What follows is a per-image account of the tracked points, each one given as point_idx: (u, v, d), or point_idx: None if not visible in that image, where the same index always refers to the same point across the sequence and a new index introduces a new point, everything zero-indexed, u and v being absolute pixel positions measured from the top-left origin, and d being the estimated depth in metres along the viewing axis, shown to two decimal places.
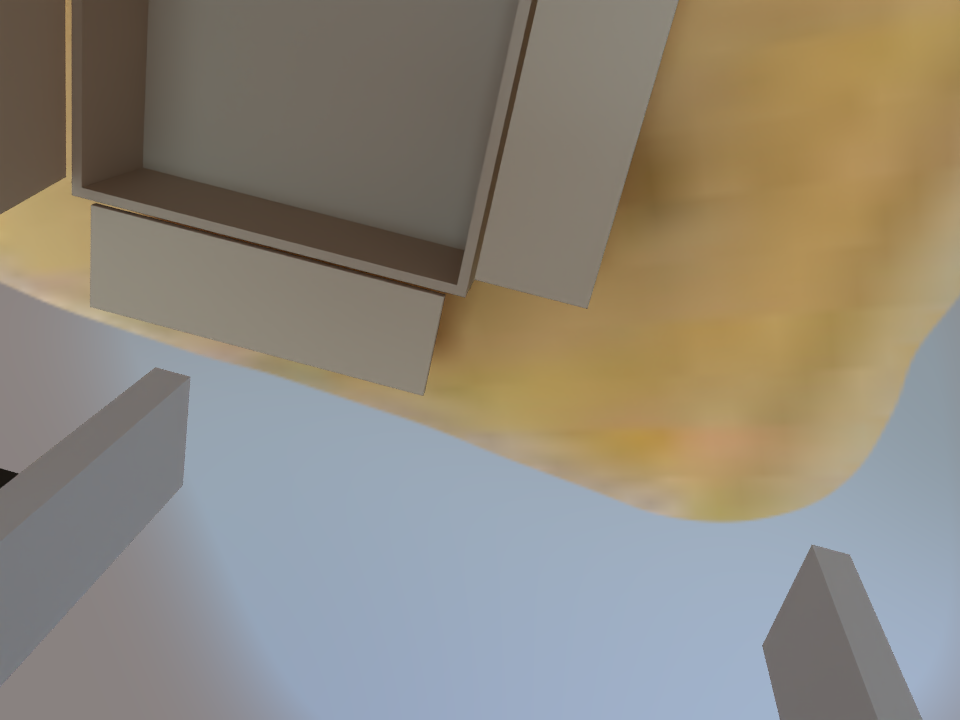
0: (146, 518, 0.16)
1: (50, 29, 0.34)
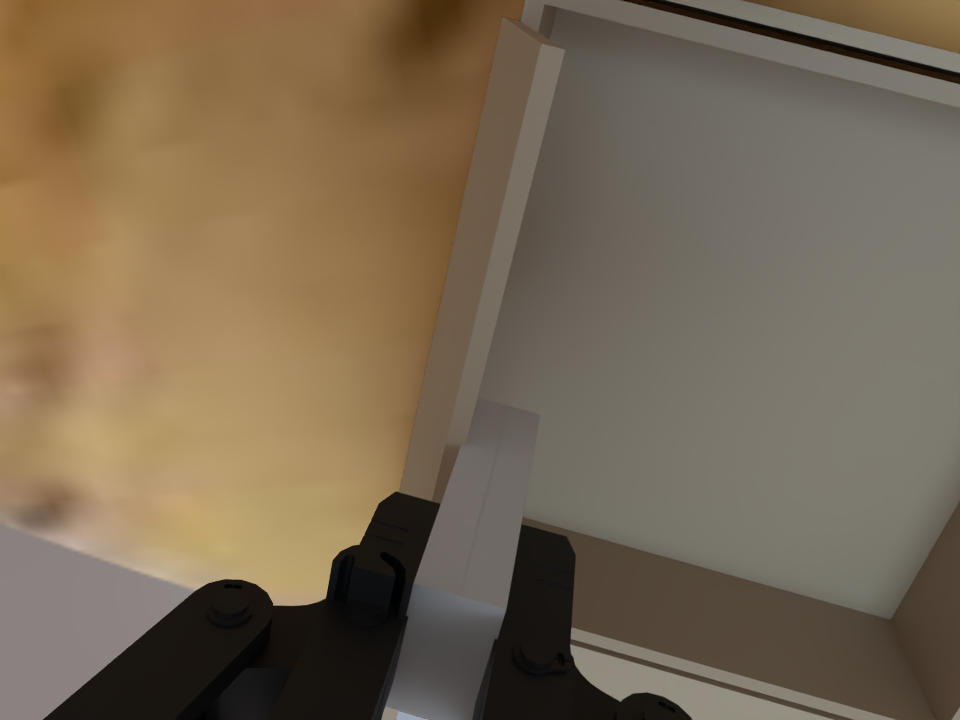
0: None
1: None
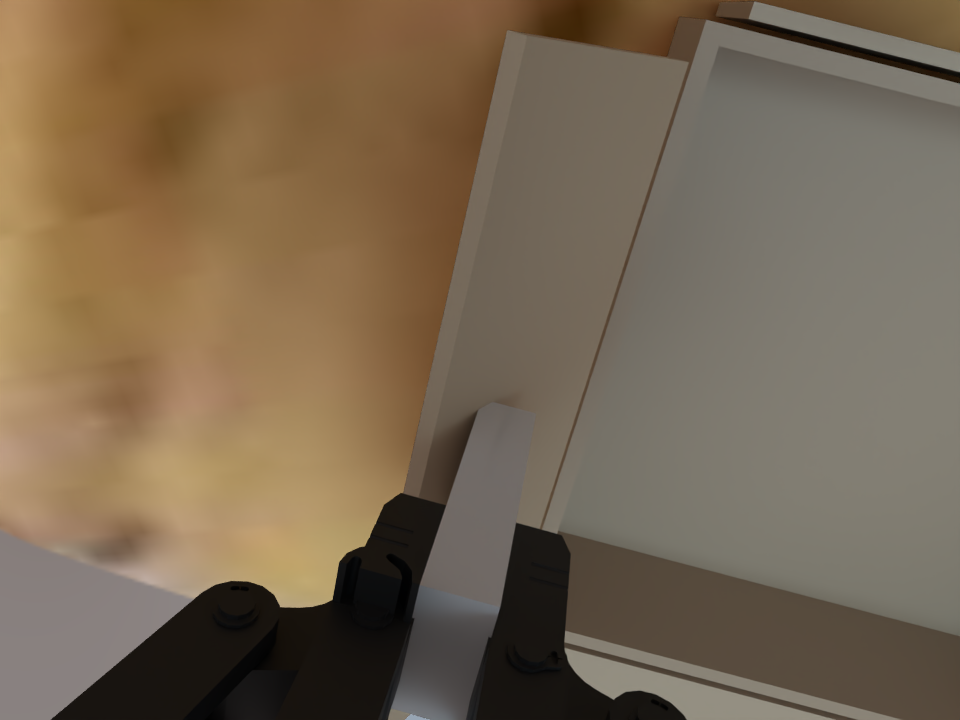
0: None
1: (540, 465, 0.23)
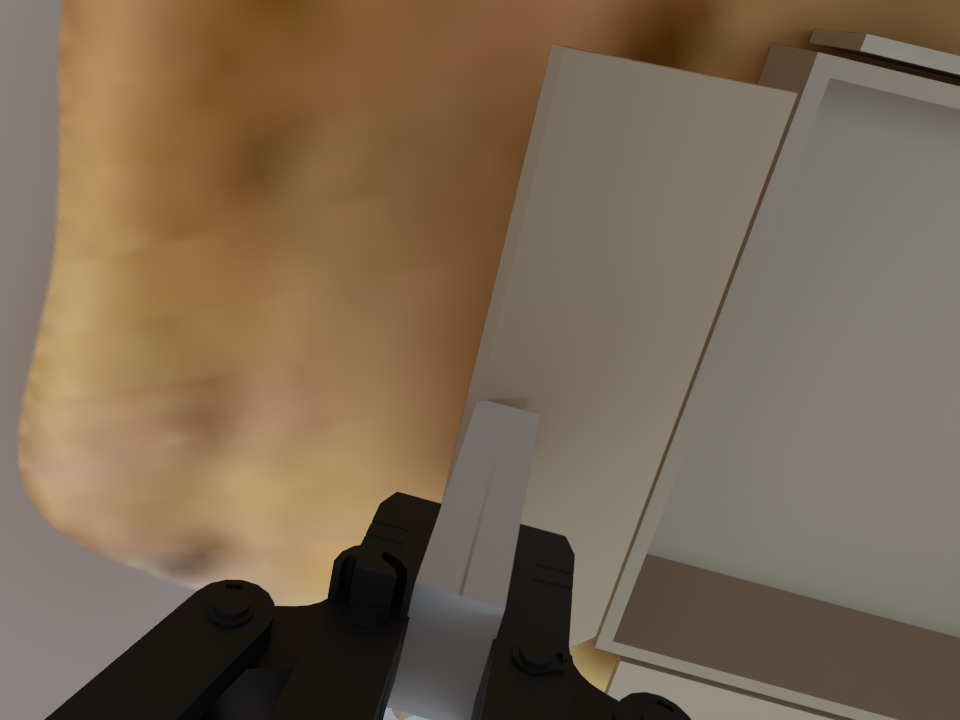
0: None
1: (622, 480, 0.23)
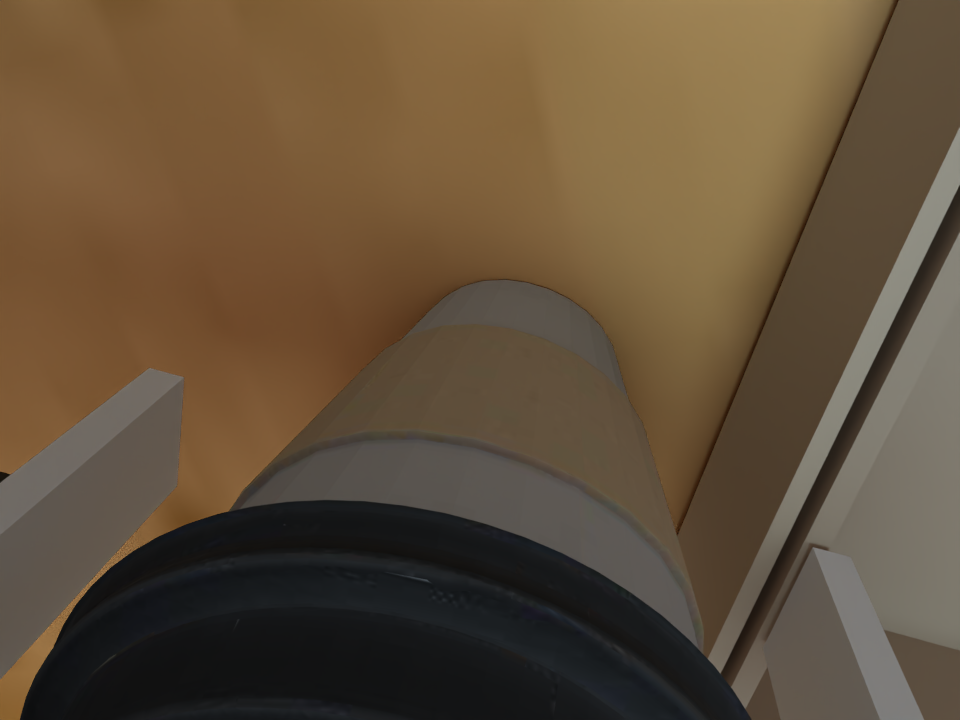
0: (140, 519, 0.16)
1: None
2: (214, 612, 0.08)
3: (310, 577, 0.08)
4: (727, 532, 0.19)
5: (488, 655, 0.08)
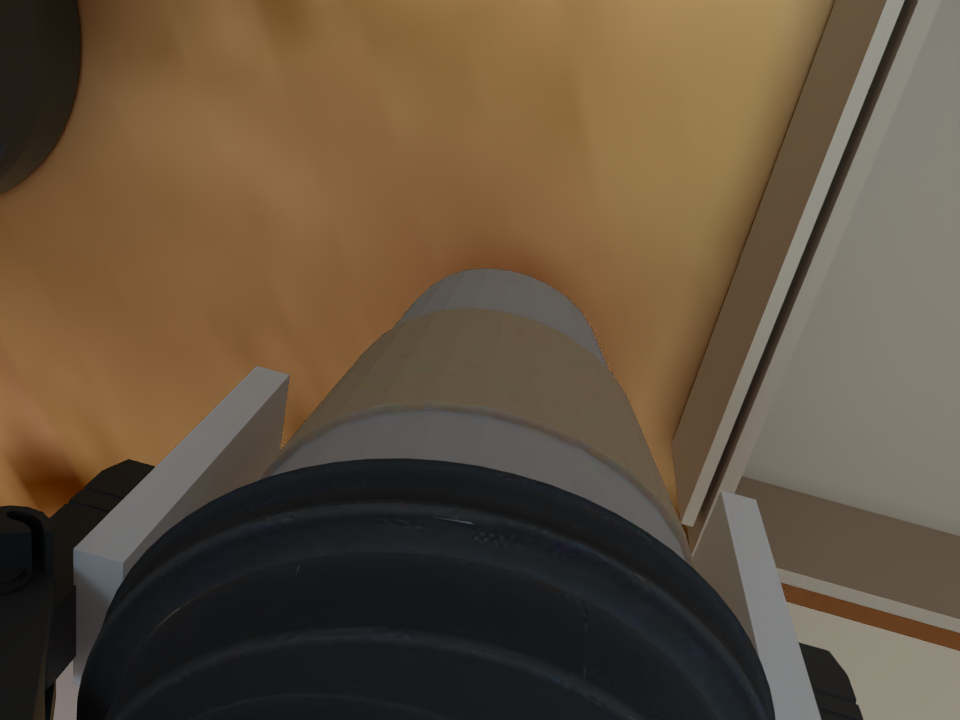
0: None
1: None
2: (275, 561, 0.09)
3: (365, 525, 0.09)
4: (710, 404, 0.26)
5: (526, 586, 0.09)
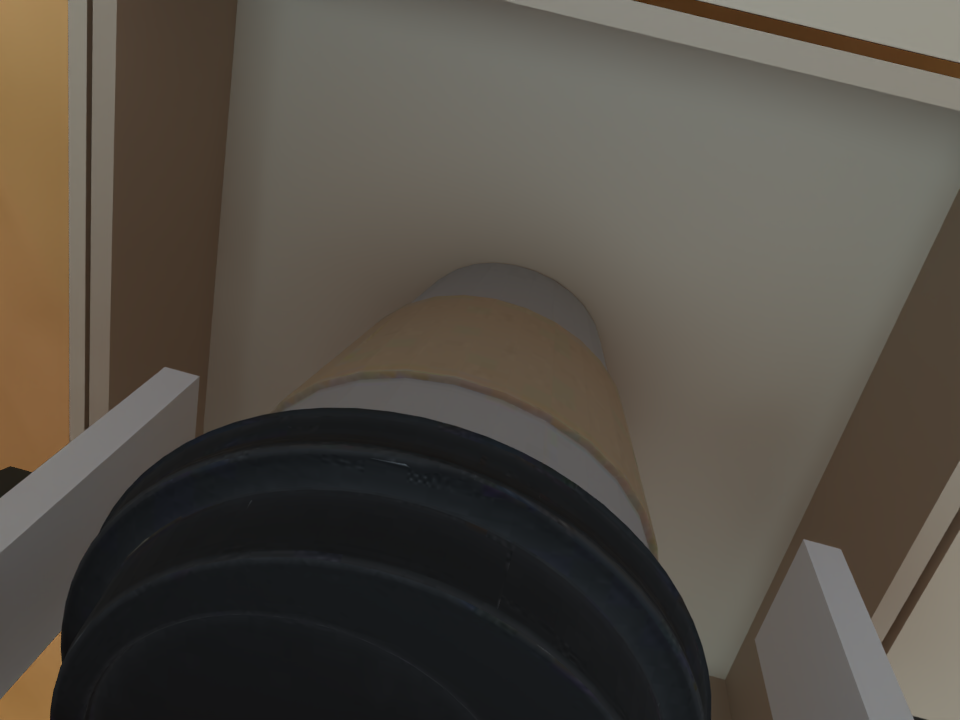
0: None
1: None
2: (231, 496, 0.10)
3: (310, 464, 0.09)
4: None
5: (455, 526, 0.09)
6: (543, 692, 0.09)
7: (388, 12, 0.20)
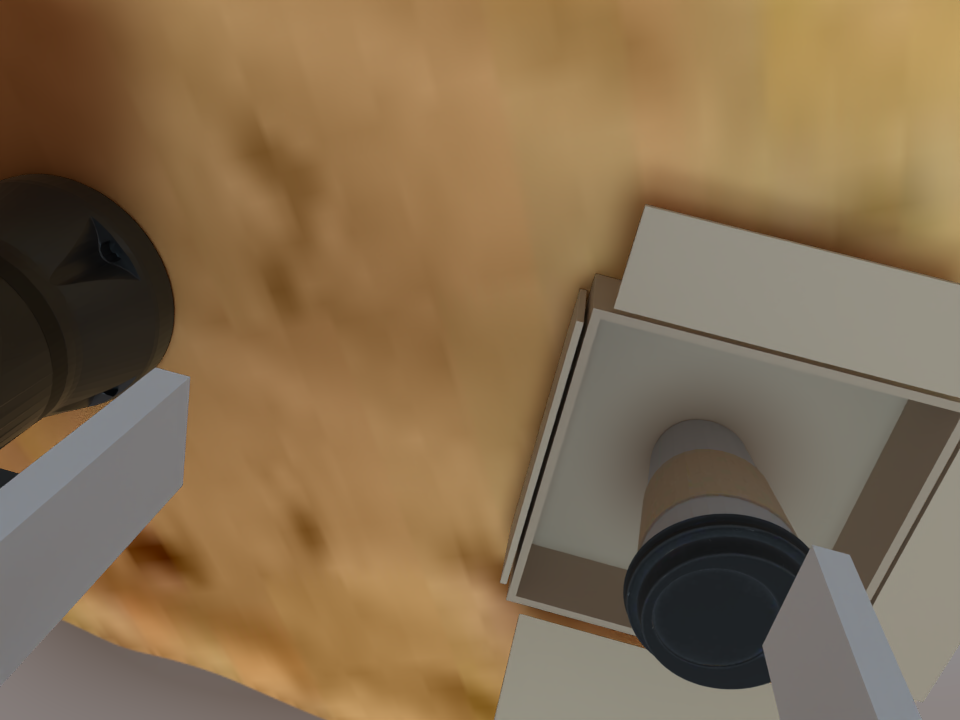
0: (146, 518, 0.16)
1: (692, 689, 0.48)
2: (702, 538, 0.36)
3: (727, 530, 0.36)
4: (516, 519, 0.50)
5: (767, 546, 0.36)
6: None
7: None
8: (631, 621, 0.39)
